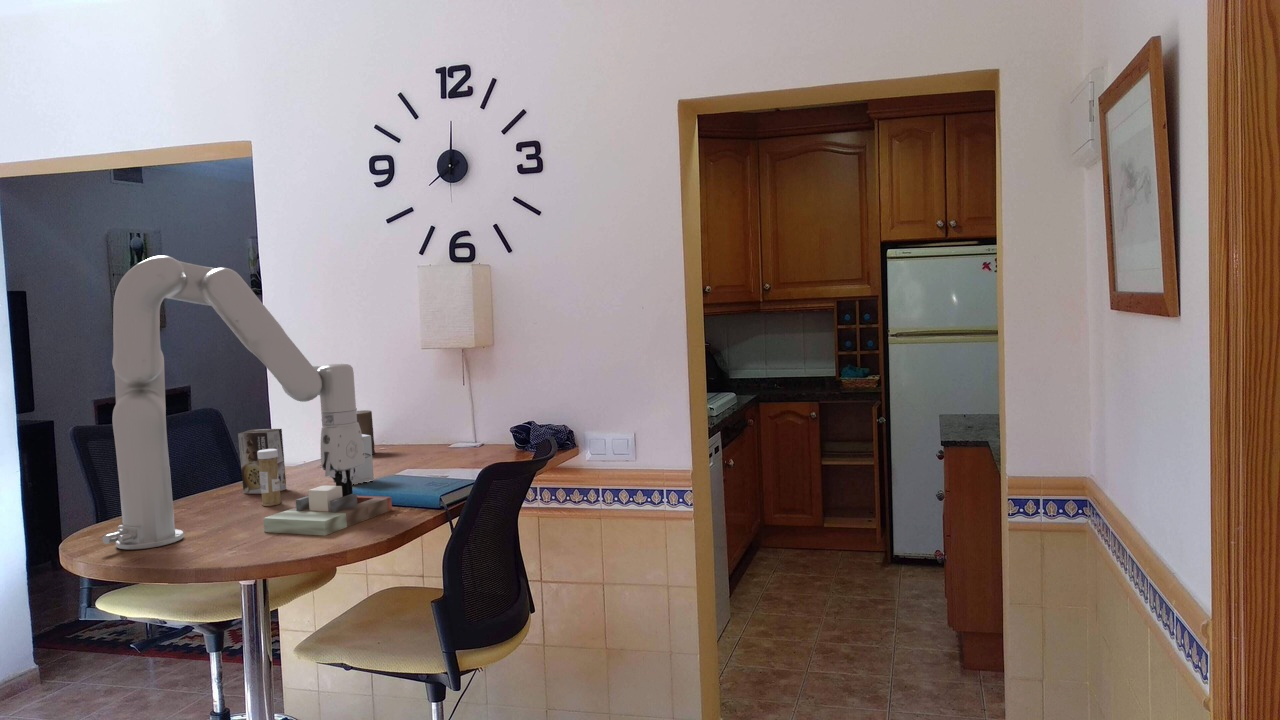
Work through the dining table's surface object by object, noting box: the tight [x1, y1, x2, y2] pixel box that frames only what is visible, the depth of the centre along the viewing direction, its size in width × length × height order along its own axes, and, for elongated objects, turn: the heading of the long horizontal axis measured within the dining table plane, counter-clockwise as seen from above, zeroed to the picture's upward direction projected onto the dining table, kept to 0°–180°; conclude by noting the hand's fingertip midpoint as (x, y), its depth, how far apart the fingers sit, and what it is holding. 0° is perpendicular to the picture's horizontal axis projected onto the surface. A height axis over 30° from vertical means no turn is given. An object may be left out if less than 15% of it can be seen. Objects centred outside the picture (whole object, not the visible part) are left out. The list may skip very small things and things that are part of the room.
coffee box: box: [237, 428, 287, 495], centre depth 246 cm, size 9×6×16 cm
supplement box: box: [352, 434, 375, 486], centre depth 253 cm, size 7×7×13 cm
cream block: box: [307, 485, 342, 511], centre depth 208 cm, size 5×5×4 cm
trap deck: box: [262, 493, 393, 536], centre depth 209 cm, size 23×16×6 cm
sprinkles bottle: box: [257, 449, 282, 507], centre depth 229 cm, size 5×5×13 cm
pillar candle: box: [356, 407, 376, 455], centre depth 299 cm, size 10×10×15 cm
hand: (344, 499), depth 214 cm, fingers closed
